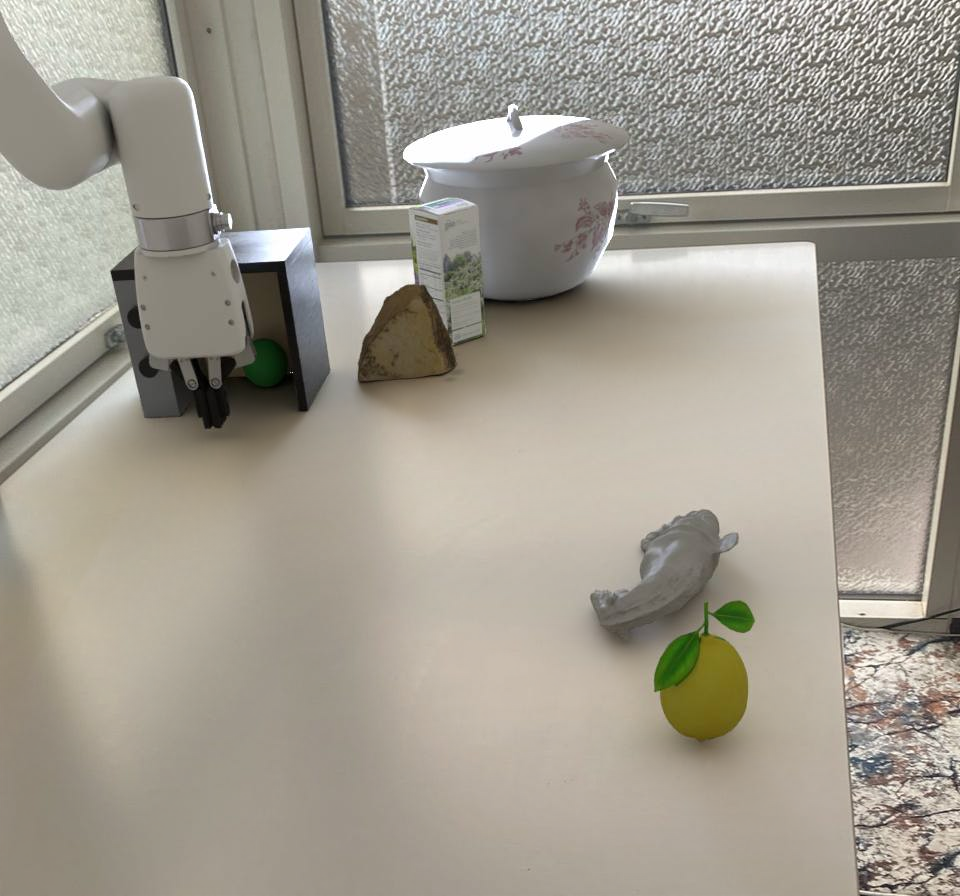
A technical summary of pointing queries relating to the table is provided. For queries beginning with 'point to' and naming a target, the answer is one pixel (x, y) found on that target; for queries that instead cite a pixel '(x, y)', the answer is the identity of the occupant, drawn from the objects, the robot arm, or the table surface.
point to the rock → (406, 339)
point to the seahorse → (666, 572)
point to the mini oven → (274, 309)
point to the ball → (267, 363)
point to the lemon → (705, 677)
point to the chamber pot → (529, 196)
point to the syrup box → (450, 263)
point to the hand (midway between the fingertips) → (216, 423)
